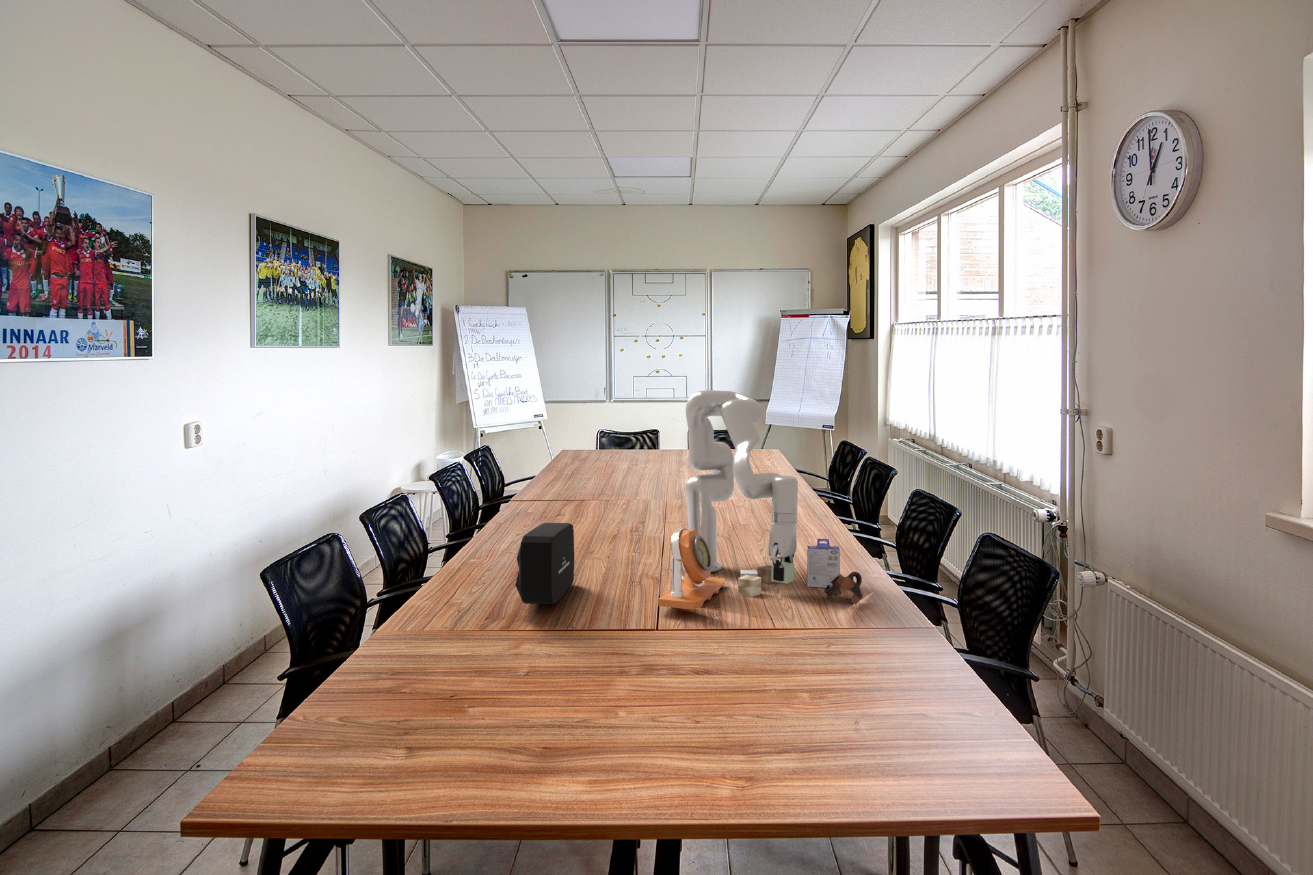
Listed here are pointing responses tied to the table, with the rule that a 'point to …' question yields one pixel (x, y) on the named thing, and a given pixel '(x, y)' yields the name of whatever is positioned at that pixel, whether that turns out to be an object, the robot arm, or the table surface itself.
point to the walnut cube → (765, 574)
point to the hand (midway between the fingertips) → (782, 577)
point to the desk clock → (690, 572)
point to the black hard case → (546, 563)
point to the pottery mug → (845, 586)
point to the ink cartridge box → (822, 564)
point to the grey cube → (749, 573)
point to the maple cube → (749, 586)
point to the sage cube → (786, 572)
